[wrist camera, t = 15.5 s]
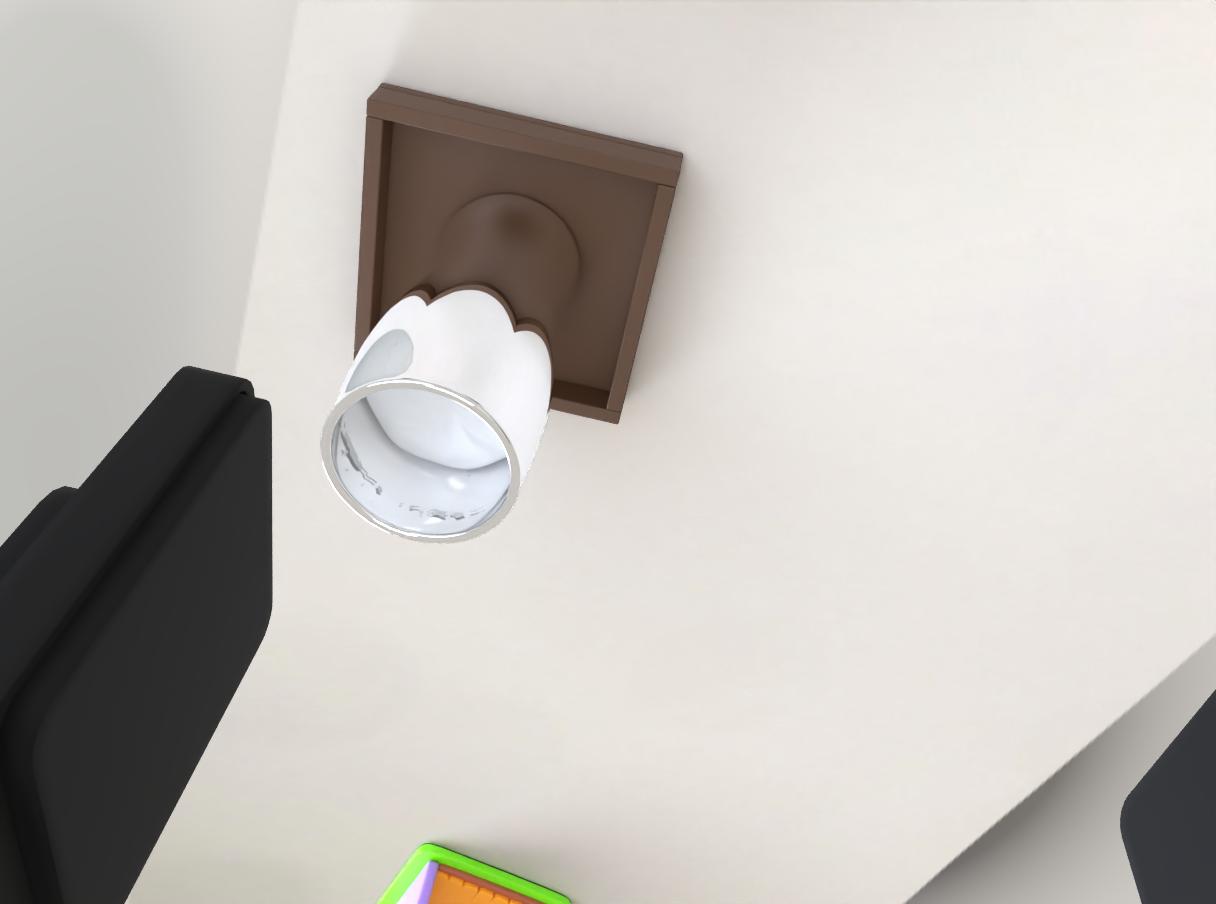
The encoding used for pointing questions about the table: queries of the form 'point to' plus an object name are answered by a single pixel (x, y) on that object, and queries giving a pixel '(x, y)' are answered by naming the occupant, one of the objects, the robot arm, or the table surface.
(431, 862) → the dollhouse room
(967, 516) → the table surface
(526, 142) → the tray
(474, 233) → the beer glass
